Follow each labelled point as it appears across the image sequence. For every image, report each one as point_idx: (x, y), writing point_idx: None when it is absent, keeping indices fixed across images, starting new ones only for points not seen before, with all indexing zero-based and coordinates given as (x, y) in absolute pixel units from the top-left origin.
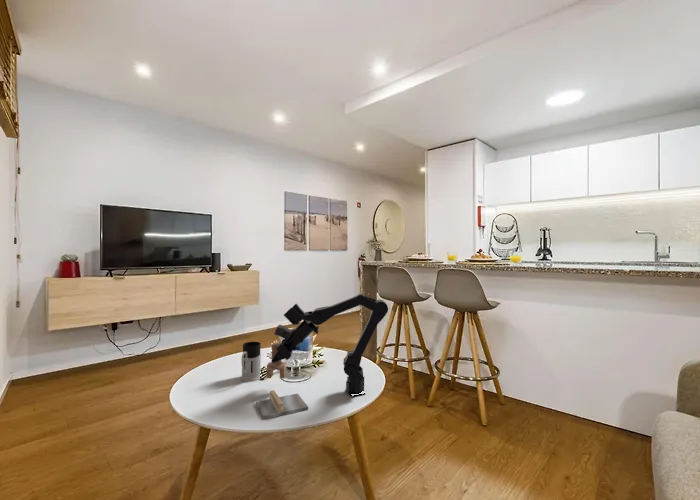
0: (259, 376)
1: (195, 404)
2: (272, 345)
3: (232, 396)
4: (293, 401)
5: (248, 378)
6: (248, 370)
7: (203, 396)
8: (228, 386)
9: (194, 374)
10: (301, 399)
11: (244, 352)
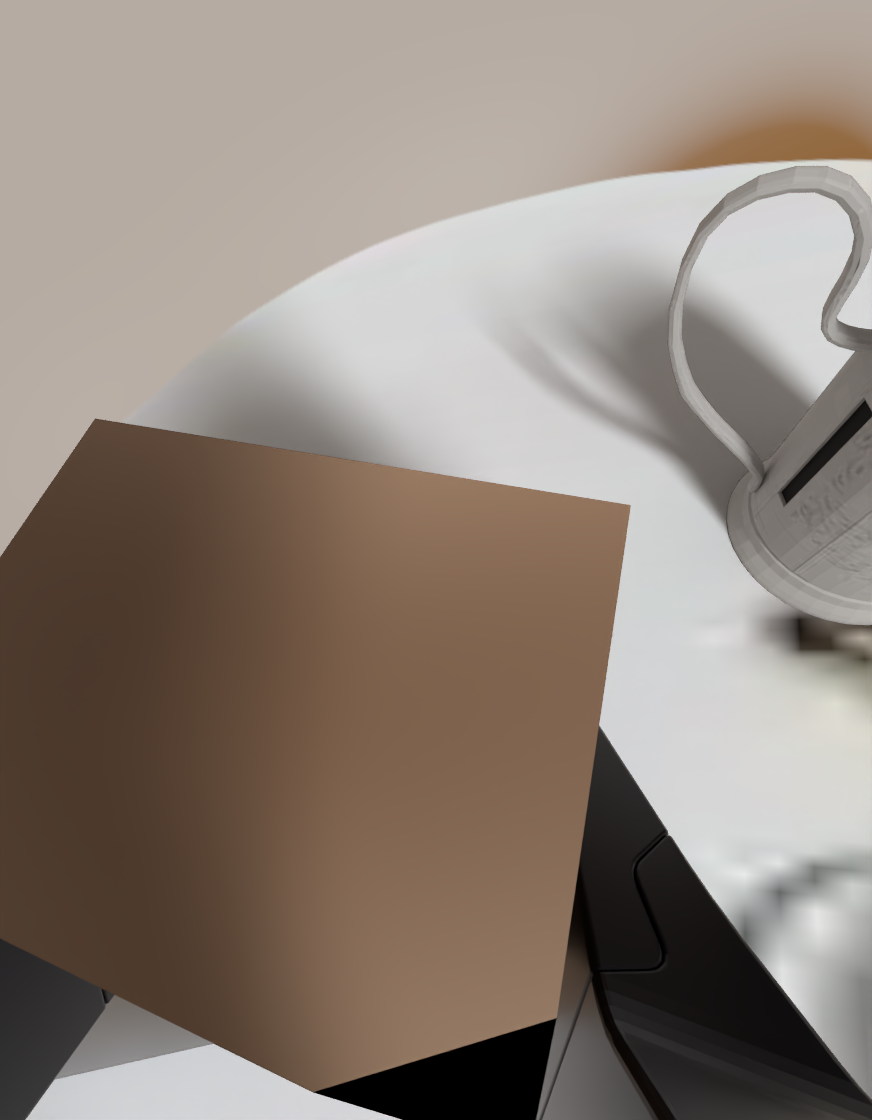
0: (827, 599)
1: (385, 296)
2: (96, 436)
3: (442, 444)
4: None
5: (746, 501)
6: (788, 453)
7: (482, 304)
8: (628, 395)
9: (867, 180)
10: (115, 1052)
11: (789, 177)
